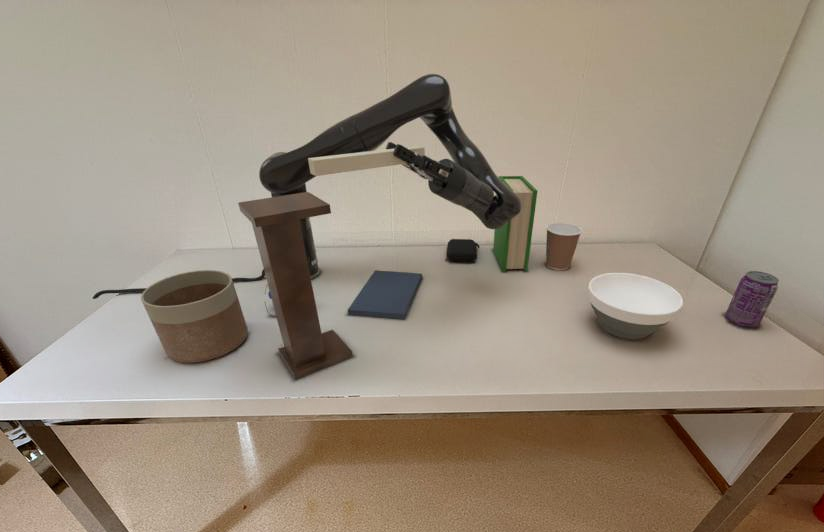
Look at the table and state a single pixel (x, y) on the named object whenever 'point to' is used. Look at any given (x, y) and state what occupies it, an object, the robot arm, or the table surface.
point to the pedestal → (293, 280)
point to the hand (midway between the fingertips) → (391, 148)
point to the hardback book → (516, 227)
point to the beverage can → (752, 298)
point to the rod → (357, 161)
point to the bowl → (632, 304)
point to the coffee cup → (561, 244)
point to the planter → (196, 315)
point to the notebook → (386, 295)
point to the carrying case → (462, 250)
